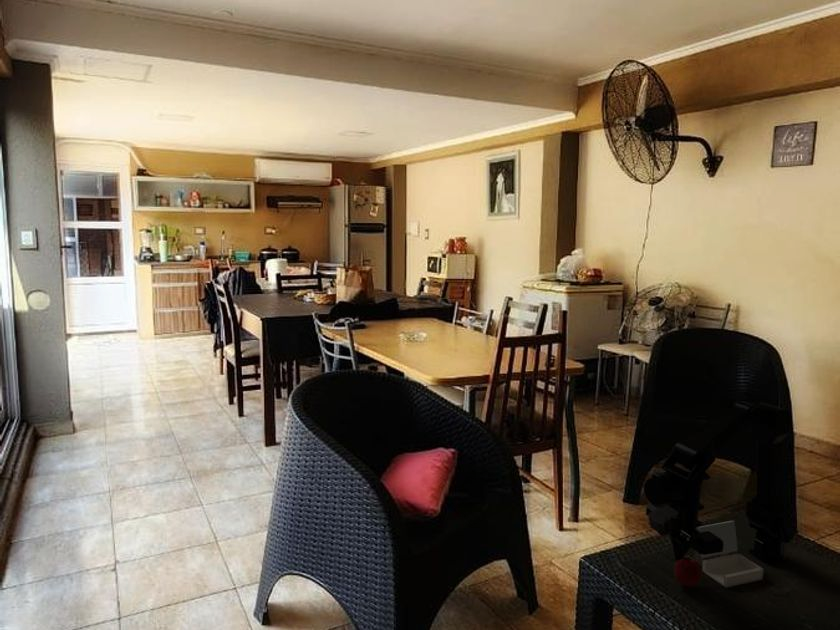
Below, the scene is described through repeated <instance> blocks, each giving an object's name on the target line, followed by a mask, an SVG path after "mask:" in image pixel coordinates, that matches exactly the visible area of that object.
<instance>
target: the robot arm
mask: <svg viewBox="0 0 840 630" xmlns="http://www.w3.org/2000/svg"><path fill="white" fill-rule="evenodd" d="M791 424H792V415H791V412H789V411H788V410H787V409H784V408H782V407H778V406H775V405H771V404H768V403H766V402H758V403H757V402H756V404H753V403H750V402H747V401H745V400H740V401H739V400H738V401H736V402H735V401H734V403H733V405H732V408H730V409H729V410H728V411H727V412H726V413H724V414H723V415H722V416H721V417H718V418H717V419H716V421H714V422H713V423H711V425H710V426H708V427H707V428H706V429H704V431H702V432H700V433H697V434H694V435H689V436H687V437H685V438H683V439H681V440H680V441H678V442H677V443H676V444H674V446H673V448H672V450H671V451H670V453H669V454H668V456H667V457H666V459H665V461H664V462H663V464H662V465H661V466H660V469H661V470H663V472H658V471H657V472H653V473H652V475H651V476H652V477H651V478H647V480H646V481H645V483H644V485H643V493H644V495H645V498H646V499H647V500H648V502H649V504H648V505H647V506H646V509H645V515H646V516H647V517H648V521H649V522H648V523H649V526H650V529H652V530H654V531H655V532H656V533H657V534H659V535H660V536H667V535H668V537H670V542H671V546H672V549H673V553H674V554H673V555H674V558H675V561H676V562H677V561H678V560H680V559H682V558H685V556H686V555H687V553H688V552H689V551H690V550H691V549H693V550H694V551H697V552H698V553H699V554H703V555H705V554H712V553H718V552H723V545H724V542H723V541H722V540H721V539H720V538H719V537H717V536H716V535H714V534H713V533H711V532H710V531H707V532H702V531H701V530H699V529H698V527H700V526H702V524H703V523H702V521H700V520H699V514H700V513H699V511H702V510H703V511H704V507H705V505H704V504H702V503H701V496H702V489H703V483H704V481H705V480H710V479H711V476H710V474H708V472H707V470H708V469H709V468H710V467H711V466H712V465H713V464H714V463H715V462H716V459H717V453H718V452H719V450H720V449H722V448H723V447H724V446H725V445H726V444H728V443H729V442H730V441H731V440H732V439H734V438H735V437H736V436H737V435H738V434H739V433H741V432H742V431H743V430H745V429H746V428H747V427H748V426H750V429H751V431H752V433H753V435H754V437H755V438H756V441H757V442H756V443H757V445H756V447H757V449H756V482H755V483H756V484H755V485H756V487H755V490H756V493H755V495H754V496H753V497H752V498H751V500H747V501H746V504H745V505H746V512H745V516H746V517H747V521H748V524H749V528H752V529H754V530H756V532H755V538H754V541H753V548H749V549H748V552H749V553H750V554H751V555H752V556H754V557H756V558H758V559H760V560H761V561H763V562H764V563H766V564H768V565H775V564H780V563H784V562H785V563H786V562H789V560H790V558H788V556H785V555H784V552H785V544H790V543H791V541H793V540H794V537H795V536H796V530H795V529H794V528H793V526H792V525H791V524H790V523H789V520H788V513H787V512H788V511H787V508H786V506H785V504H784V503H783V501H782V499H781V497H780V495H781V493H780V492H781V468H782V467H781V465H782V464H781V460H782V454H781V453H782V442H783V441H784V440H785V439H786V437H787V436H788V435H789V434H790V429H791ZM676 465H677V466H676ZM678 466H679V467H678ZM680 467H681V468H680ZM682 468H684V469H682ZM685 469H686V470H685Z"/></svg>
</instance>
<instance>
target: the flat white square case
mask: <svg viewBox="0 0 840 630" xmlns="http://www.w3.org/2000/svg"><path fill="white" fill-rule="evenodd" d="M731 553H732V552H729V553H724V554H720V556H719V557H715V558H709V559H705V558H703V557H701V554H699V553H698V552H697V551H695V550H694V553H693V557H694V558H696V560H695V561H697V562H698V564H699V565H700V567H701V570H702V573H704V574H706V575H707V576H709V577H710V578H711V579H713V580H714V581H715V582H717V583H718V584H720V585H722V586H723V587H724V588H731V587H735V586H739V585H740V586H741V585H745V584H748V583H754V582H757V581H762V580H764V579H763V578H764V570H765V569H764V568H763V567H761V566H760V565H758V564H756V563H755V562H753V561H752V560H750V559H749V558H747V557H745V556H744V555H742V554H740V553H739V552H738V553H734V554H731Z"/></svg>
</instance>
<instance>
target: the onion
mask: <svg viewBox="0 0 840 630" xmlns="http://www.w3.org/2000/svg"><path fill="white" fill-rule="evenodd" d="M695 560H696V558H694V556H692V557H683V558H682V559H680V560H678V561H676V562H675V564H674V566H673V574H674V577H675V579H676V580H677V581H678V583H679V584H681V585H683V586H685V587H694V586H696V585H697V584H698V583H699V582H700V581H701V580H702V576H703V571H702V566H700V565H699V564H698V562H697V561H695Z"/></svg>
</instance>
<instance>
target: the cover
mask: <svg viewBox="0 0 840 630" xmlns="http://www.w3.org/2000/svg"><path fill="white" fill-rule="evenodd" d="M697 528H698V529H699V530H701V531H702V532H707V531H710V532H711V533H713V534H714V535H716V536H717V537H719V538H720V539H721V540H722V541H723V542H724V545H723V552H718V553H712V554H705V555H703V554H701V557H703V558H704V559H705V558H710V557H713V556H719V555H721V554H724V553H729V552H731V553H733V552H738V551H739V550H738V539H737V538H738V537H737V533H736V532H737V531H736V522H735V520H728V521H723V522H717V523H712V524H706V525H701V526H700V527H697Z"/></svg>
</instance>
